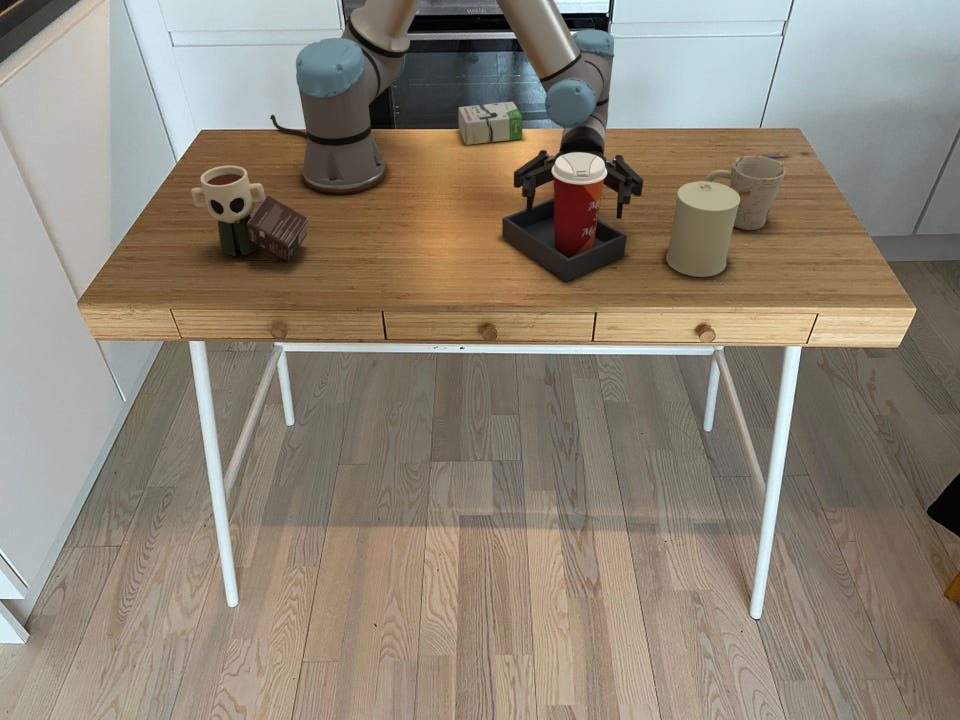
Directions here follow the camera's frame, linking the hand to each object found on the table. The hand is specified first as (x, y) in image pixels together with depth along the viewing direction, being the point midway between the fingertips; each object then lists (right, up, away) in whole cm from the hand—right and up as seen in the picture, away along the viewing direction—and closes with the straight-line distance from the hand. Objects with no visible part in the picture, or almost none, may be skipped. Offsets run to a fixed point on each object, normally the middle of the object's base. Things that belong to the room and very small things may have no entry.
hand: (574, 207), depth 116 cm
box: (-42, -4, +6) cm, 43 cm away
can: (+20, -7, +6) cm, 22 cm away
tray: (-1, -4, +10) cm, 11 cm away
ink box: (-6, +27, +43) cm, 51 cm away
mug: (+29, +1, +16) cm, 33 cm away
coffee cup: (+1, -5, +8) cm, 9 cm away
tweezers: (+43, +17, +33) cm, 57 cm away
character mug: (-53, -5, +11) cm, 54 cm away
